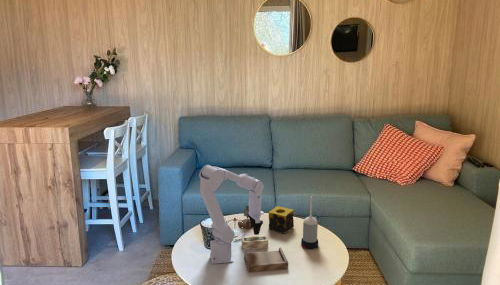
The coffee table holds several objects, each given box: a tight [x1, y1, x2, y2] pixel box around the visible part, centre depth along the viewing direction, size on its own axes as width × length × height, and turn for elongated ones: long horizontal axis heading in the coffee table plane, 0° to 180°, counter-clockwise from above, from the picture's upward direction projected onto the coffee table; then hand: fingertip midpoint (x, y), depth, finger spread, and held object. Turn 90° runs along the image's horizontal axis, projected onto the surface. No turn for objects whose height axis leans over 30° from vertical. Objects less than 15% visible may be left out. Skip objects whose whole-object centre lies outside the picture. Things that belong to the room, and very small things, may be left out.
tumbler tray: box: [241, 234, 269, 250], centre depth 180 cm, size 12×5×4 cm, turn 98°
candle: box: [268, 205, 295, 235], centre depth 198 cm, size 10×10×10 cm
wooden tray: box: [243, 247, 289, 274], centre depth 166 cm, size 17×13×3 cm
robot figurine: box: [237, 202, 253, 230], centre depth 201 cm, size 11×9×12 cm
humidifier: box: [300, 195, 319, 250], centre depth 178 cm, size 8×8×25 cm
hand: (255, 230), depth 179 cm, fingers open, 7 cm apart
